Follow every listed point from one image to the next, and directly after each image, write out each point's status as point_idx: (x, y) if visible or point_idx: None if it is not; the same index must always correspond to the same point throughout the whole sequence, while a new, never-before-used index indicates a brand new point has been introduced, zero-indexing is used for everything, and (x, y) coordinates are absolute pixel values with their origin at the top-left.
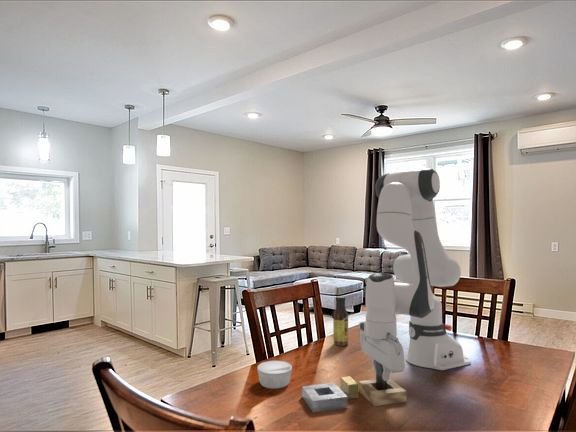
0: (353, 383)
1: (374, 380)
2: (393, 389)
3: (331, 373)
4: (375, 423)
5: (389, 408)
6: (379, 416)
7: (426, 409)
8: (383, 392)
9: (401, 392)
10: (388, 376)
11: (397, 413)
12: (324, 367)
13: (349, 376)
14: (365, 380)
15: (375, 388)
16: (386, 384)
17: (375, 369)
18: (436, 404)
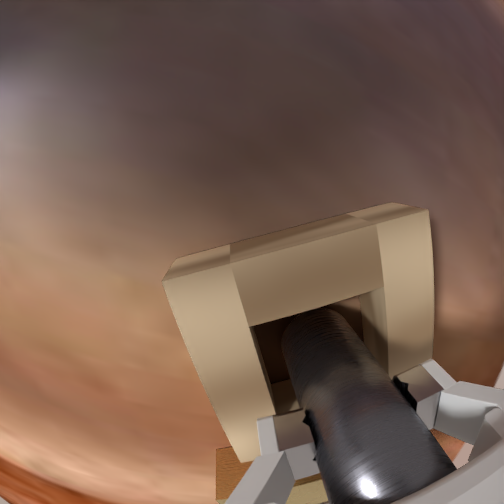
0: (320, 490)
1: (227, 393)
2: (398, 295)
3: (58, 458)
4: (491, 366)
5: (436, 311)
6: (469, 354)
7: (461, 133)
8: (418, 360)
9: (429, 246)
10: (444, 378)
11: (474, 284)
12: (17, 455)
13: (222, 501)
14: (229, 436)
15: (264, 369)
16: (364, 346)
17: (301, 471)
18: (414, 54)
